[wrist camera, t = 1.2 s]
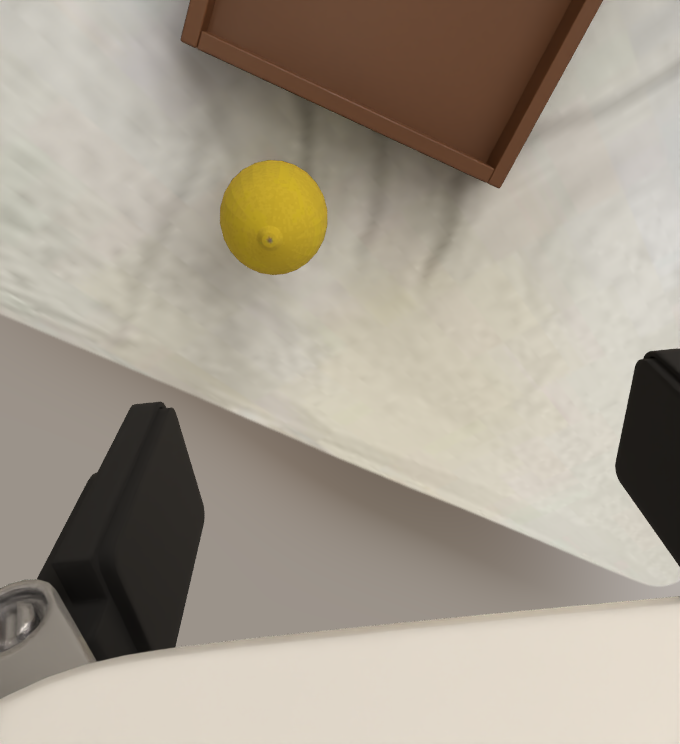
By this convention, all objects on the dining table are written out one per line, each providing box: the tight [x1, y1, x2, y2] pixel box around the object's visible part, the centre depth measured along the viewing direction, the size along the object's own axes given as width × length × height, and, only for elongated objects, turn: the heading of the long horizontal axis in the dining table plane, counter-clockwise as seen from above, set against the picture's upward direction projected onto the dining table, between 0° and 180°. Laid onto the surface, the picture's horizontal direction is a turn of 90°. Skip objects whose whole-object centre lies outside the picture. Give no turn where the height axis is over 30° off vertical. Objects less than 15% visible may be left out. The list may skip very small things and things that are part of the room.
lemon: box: [220, 160, 327, 275], centre depth 29 cm, size 6×6×8 cm
